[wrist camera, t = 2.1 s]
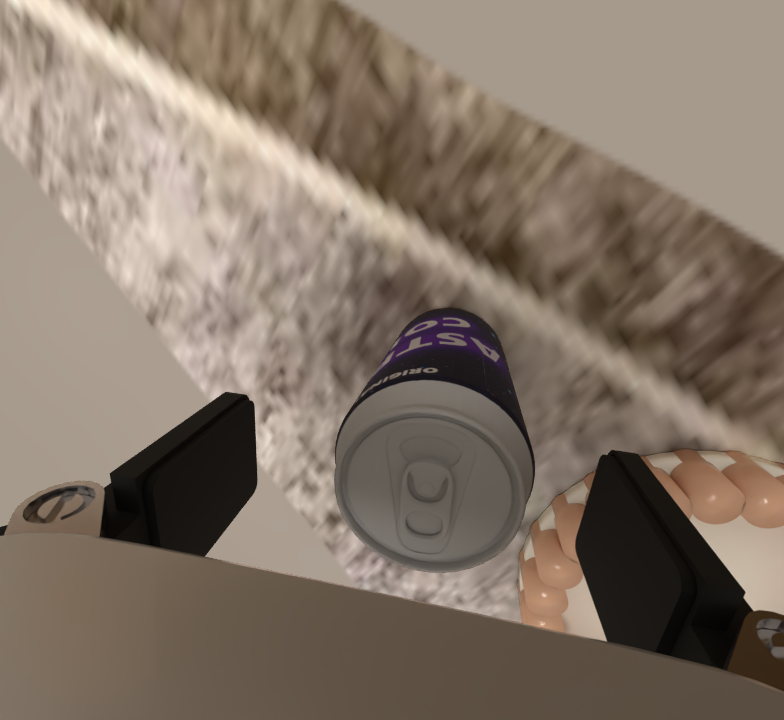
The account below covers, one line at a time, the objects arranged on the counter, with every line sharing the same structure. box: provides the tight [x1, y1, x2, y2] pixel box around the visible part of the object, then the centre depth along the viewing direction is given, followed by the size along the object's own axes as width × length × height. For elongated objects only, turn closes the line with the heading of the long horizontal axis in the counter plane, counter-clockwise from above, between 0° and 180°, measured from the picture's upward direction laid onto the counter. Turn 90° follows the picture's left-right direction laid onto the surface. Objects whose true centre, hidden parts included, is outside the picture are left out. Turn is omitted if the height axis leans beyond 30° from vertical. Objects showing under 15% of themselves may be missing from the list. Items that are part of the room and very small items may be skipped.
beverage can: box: [334, 308, 535, 573], centre depth 16 cm, size 6×6×12 cm
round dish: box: [517, 449, 784, 641], centre depth 21 cm, size 18×18×3 cm
